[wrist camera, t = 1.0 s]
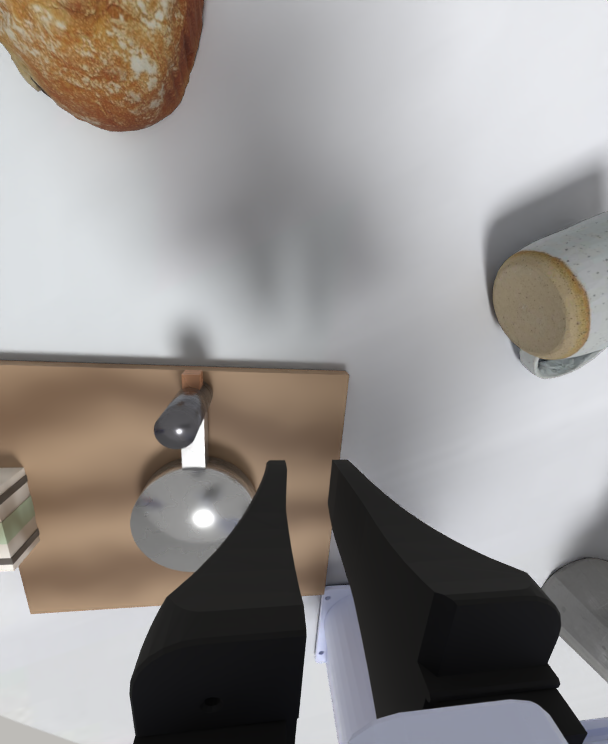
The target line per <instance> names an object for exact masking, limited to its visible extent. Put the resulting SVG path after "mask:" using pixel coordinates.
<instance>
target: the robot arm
mask: <svg viewBox="0 0 608 744" xmlns="http://www.w3.org/2000/svg"><path fill="white" fill-rule="evenodd" d="M286 490H287V466H286V462H285V460H269V461H268V462H267V463H266V468H265V472H264V475H263V478H262V480H261V483H260V485H259V487H258V489H257V491H256V493H255V495H254V497H253V499H252V501H251V503H250V504H249V506H248V508H247V510H246V511H245V513H244V514H243V516H242V518H241V519H240V520H239V522H238V523H237V525H236V526H235V528H234V529H233V530H232V532H231V533H230V534H229V535H228V537H227V538H226V539H225V540H224V542H223V543H222V544H221V545H220V546H219V548H218V549H217V550H216V551H215V552H214V553H213V554H212V555H211V556H210V557H209V558H208V559H207V560H206V561H205V562H204V563H203V564H202V565H201V567H200V568H199V569H198V570H197V571H195V572H194V573H193V574H192V575H191V576H190V577H189V578H188V579H187V580H186V581H184V582H183V583H182V584H181V585H180V586H179V587H177V588H176V589H175V590H174V591H173V592H172V593H171V594H169V595H168V596H167V597H166V599H165V600H164V602H163V604H162V606H161V608H160V609H159V611H158V613H157V615H156V617H155V619H154V621H153V623H152V625H151V627H150V629H149V632H148V634H147V636H146V638H145V641H144V643H143V646H142V648H141V651H140V654H139V657H138V660H137V663H136V666H135V669H134V672H133V675H132V678H131V681H130V701H131V708H132V715H133V721H134V728H135V735H136V736H135V739H134V743H133V744H295V734H296V724H297V718H299V707H300V697H301V687H302V677H303V666H304V656H305V646H306V623H305V614H304V605H303V601H302V597H301V593H300V589H299V584H298V579H297V575H296V570H295V565H294V559H293V554H292V548H291V542H290V535H289V529H288V521H287V513H286ZM328 509H329V515H330V520H331V525H332V530H333V533H334V536H335V540H336V543H337V546H338V549H339V553H340V556H341V559H342V562H343V565H344V569H345V572H346V575H347V578H348V582H349V585H337V586H326V587H325V592H324V595H322V597H321V606H320V615H319V624H318V633H317V642H316V651H315V661H316V662H317V663H326V666H327V673H328V679H329V686H330V692H331V699H332V705H333V712H334V718H335V725H336V731H337V738H338V742H339V744H608V717H604V718H597V719H589V720H582V721H579V720H578V718H577V717H576V716H575V714H574V713H573V711H572V710H571V708H570V707H569V706H568V704H567V703H566V701H565V700H564V699H563V697H562V696H561V694H560V693H559V691H558V690H557V689H556V688H559V685H560V681H559V678H558V677H557V676H556V674H555V673H554V671H553V670H552V669H551V667H550V666H549V665H548V660H549V658H550V656H551V653H552V651H553V649H554V646H555V644H556V642H557V639H558V637H559V633H560V630H561V614H560V612H559V610H558V608H557V607H556V605H555V604H554V603H553V602H552V601H551V599H550V598H549V597H548V596H547V595H546V594H545V593H544V591H543V590H542V589H541V588H540V587H539V586H538V585H537V584H536V582H535V581H534V580H533V579H532V578H531V577H530V576H529V575H528V574H527V573H526V572H524V571H521V570H519V569H516V568H514V567H511V566H509V565H506V564H504V563H501V562H499V561H496V560H494V559H491V558H489V557H487V556H485V555H483V554H480V553H478V552H476V551H474V550H472V549H470V548H468V547H466V546H464V545H462V544H460V543H458V542H456V541H454V540H452V539H450V538H449V537H447V536H445V535H443V534H442V533H440V532H438V531H436V530H435V529H433V528H431V527H430V526H428V525H427V524H425V523H423V522H422V521H420V520H419V519H417V518H416V517H414V516H413V515H412V514H410V513H409V512H407V511H406V510H404V509H403V508H402V507H400V506H399V505H398V504H397V503H395V502H394V501H393V500H392V499H390V498H389V497H388V496H387V495H385V494H384V493H383V492H382V491H381V490H380V489H378V488H377V487H376V486H375V485H374V484H373V483H372V482H371V481H370V480H368V479H367V478H366V477H365V476H364V475H363V474H362V473H361V472H360V471H359V470H358V469H357V468H356V467H355V466H354V465H353V464H352V463H350V462H349V461H348V460H332V466H331V475H330V485H329V494H328Z"/></svg>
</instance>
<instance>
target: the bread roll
mask: <svg viewBox="0 0 608 744" xmlns="http://www.w3.org/2000/svg"><path fill="white" fill-rule="evenodd" d="M203 6H204V0H0V42H1V43H2V44H3V46H4V47H5V48H6V49H7V51H8V52H9V54H10V55H11V59H12V60H13V61H14V63H15V65H16V67H17V68H18V70H19V72H20V74H21V75H22V76H23V78H24V79H25V80H26V81H27V82H28V83H29V84H30V85H31V86H32V87H33V88H35V89H36V90H37V91H40V90H42V91H43V92H44V93H45V94H46V95H48V96H49V97H50V98H52V99H53V100H54V101H55V103H56V104H57V105H58V106H59V107H61V108H62V109H64V110H65V111H67V112H69V113H70V114H72V115H73V116H74V117H76V118H77V119H79V120H82V121H86V122H88V123H90V124H92V125H94V126H96V127H99V128H101V129H105V130H108V131H117V132H122V131H134V130H140V129H143V128H146V127H149V126H151V125H153V124H155V123H157V122H159V121H160V120H162V119H163V118H165V117H167V116H168V115H170V114H171V113H172V112H173V111H174V110H175V108H176V107H177V106H178V105H179V103H180V102H181V100H182V97H183V96H184V92H185V88H186V86H187V84H188V82H189V75H190V72H191V70H192V68H193V65H194V61H195V56H196V52H197V49H198V46H199V40H200V35H201V30H202V13H203Z"/></svg>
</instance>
